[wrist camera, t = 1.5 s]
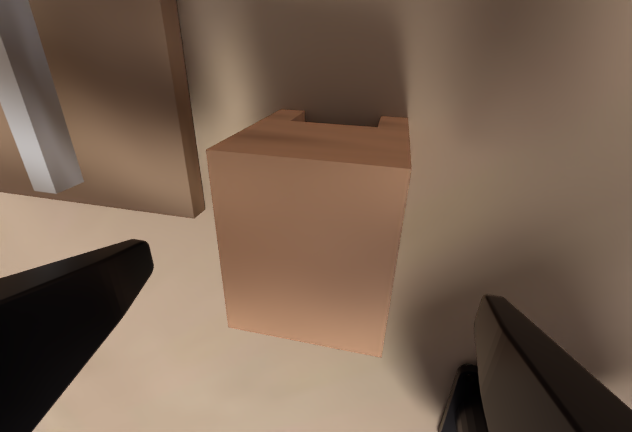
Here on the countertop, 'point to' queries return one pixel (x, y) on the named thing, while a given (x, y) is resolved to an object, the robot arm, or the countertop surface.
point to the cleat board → (97, 105)
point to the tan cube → (311, 227)
